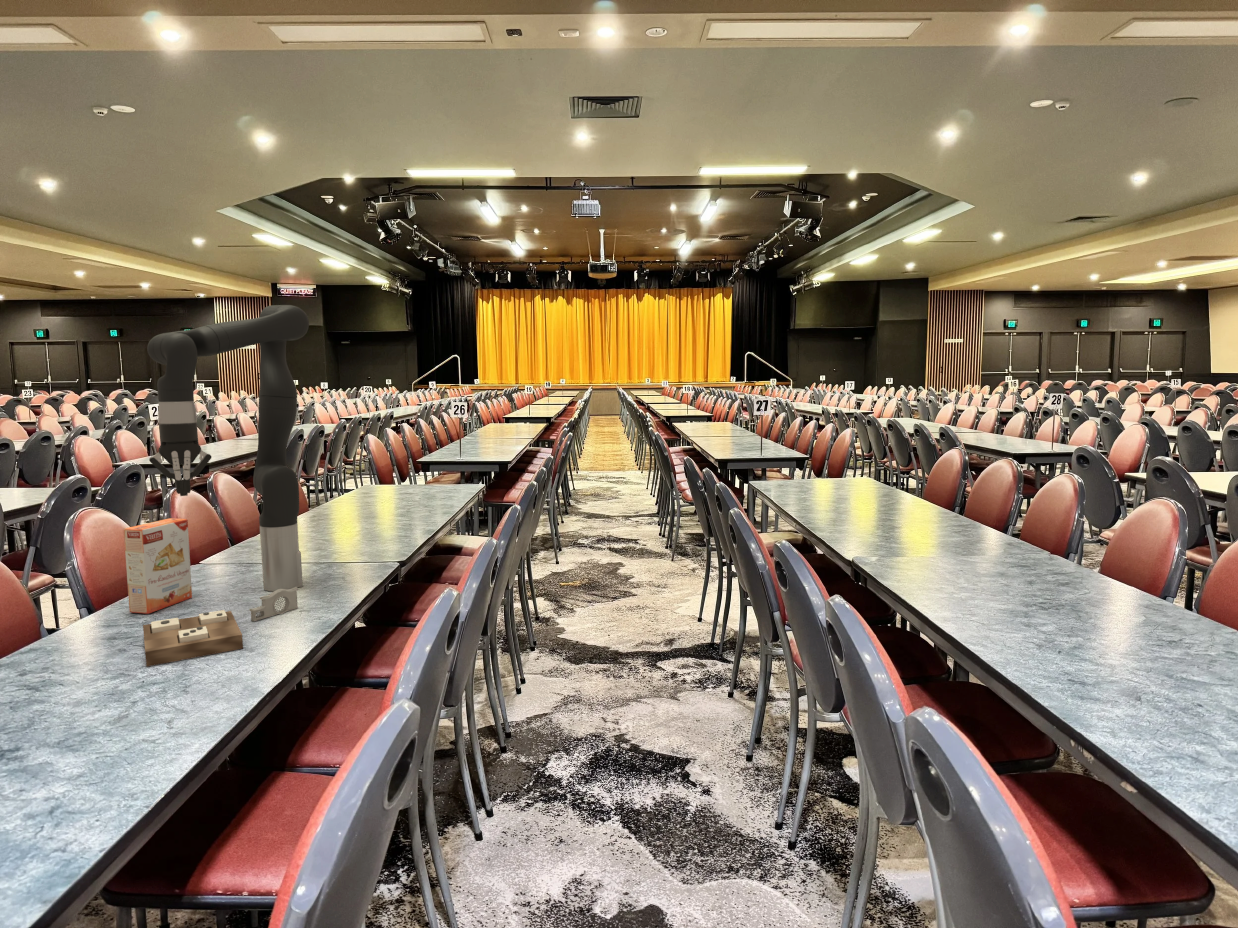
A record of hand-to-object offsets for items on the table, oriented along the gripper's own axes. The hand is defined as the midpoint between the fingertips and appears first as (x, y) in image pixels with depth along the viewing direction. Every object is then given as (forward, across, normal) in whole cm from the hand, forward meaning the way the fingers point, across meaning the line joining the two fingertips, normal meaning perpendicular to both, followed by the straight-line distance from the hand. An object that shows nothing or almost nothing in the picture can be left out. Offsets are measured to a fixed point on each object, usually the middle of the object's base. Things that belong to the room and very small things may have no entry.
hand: (183, 495), depth 171 cm
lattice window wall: (+29, -16, +10) cm, 35 cm away
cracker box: (+29, +6, -14) cm, 33 cm away
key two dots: (+28, -3, +16) cm, 33 cm away
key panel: (+29, +2, +21) cm, 36 cm away
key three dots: (+28, +2, +26) cm, 39 cm away
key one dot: (+28, +6, +16) cm, 33 cm away
